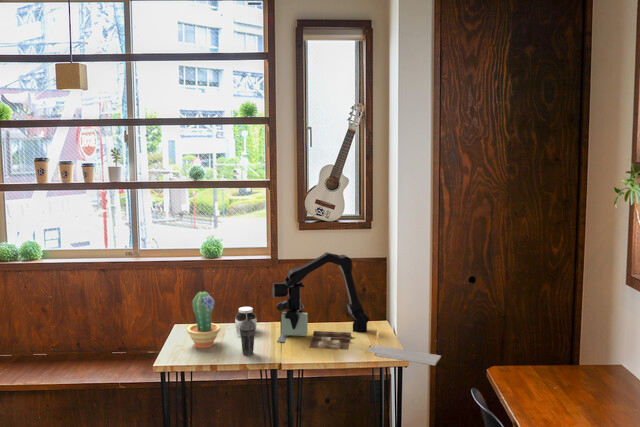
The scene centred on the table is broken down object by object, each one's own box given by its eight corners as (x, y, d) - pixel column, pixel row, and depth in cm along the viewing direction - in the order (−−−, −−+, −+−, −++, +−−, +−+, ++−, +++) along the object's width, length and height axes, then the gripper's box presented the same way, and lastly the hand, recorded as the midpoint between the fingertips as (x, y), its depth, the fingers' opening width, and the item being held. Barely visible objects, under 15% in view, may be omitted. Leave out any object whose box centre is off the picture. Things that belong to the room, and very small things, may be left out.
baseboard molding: (434, 368, 254) (440, 358, 265) (434, 361, 254) (441, 352, 264) (364, 356, 267) (374, 348, 278) (365, 350, 267) (374, 341, 277)
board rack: (351, 338, 289) (351, 332, 289) (348, 351, 272) (348, 345, 271) (313, 336, 291) (313, 330, 291) (308, 349, 274) (308, 343, 273)
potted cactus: (187, 351, 270) (185, 297, 267) (186, 340, 285) (185, 288, 282) (222, 348, 274) (221, 295, 271) (219, 337, 289) (218, 286, 286)
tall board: (307, 333, 291) (307, 312, 289) (306, 335, 287) (306, 315, 285) (283, 331, 292) (282, 311, 291) (281, 334, 288) (281, 314, 287)
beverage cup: (258, 352, 270) (258, 308, 268) (251, 357, 263) (251, 313, 261) (244, 350, 273) (243, 307, 270) (236, 355, 266) (236, 311, 263)
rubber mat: (311, 332, 297) (311, 331, 297) (306, 343, 281) (306, 342, 281) (283, 331, 298) (283, 330, 298) (276, 342, 283) (276, 341, 283)
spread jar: (252, 327, 304) (252, 305, 303) (261, 334, 295) (261, 311, 293) (229, 331, 298) (229, 308, 297) (238, 338, 289) (238, 314, 287)
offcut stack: (340, 345, 277) (340, 337, 277) (339, 348, 273) (339, 340, 273) (318, 344, 279) (318, 336, 278) (317, 347, 275) (317, 339, 274)
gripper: (281, 290, 297) (281, 321, 299) (273, 300, 279) (274, 333, 281) (303, 291, 296) (303, 322, 298) (297, 301, 277) (297, 334, 279)
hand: (294, 327), depth 289 cm, fingers closed on tall board, 4 cm apart
